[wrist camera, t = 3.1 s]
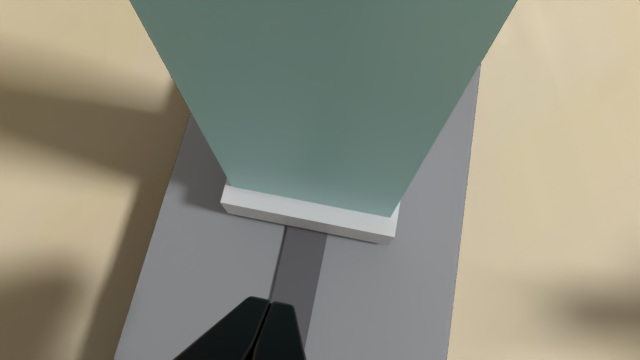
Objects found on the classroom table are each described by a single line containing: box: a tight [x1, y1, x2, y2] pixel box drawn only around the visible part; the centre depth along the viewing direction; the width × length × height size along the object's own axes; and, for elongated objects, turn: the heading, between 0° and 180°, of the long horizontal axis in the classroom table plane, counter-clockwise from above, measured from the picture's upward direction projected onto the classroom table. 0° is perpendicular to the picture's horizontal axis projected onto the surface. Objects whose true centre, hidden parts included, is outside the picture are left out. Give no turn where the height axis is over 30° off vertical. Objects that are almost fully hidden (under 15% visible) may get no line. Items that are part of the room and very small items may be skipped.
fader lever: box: [129, 0, 517, 245], centre depth 10 cm, size 4×5×11 cm
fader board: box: [113, 64, 481, 360], centre depth 16 cm, size 16×9×2 cm, turn 169°
